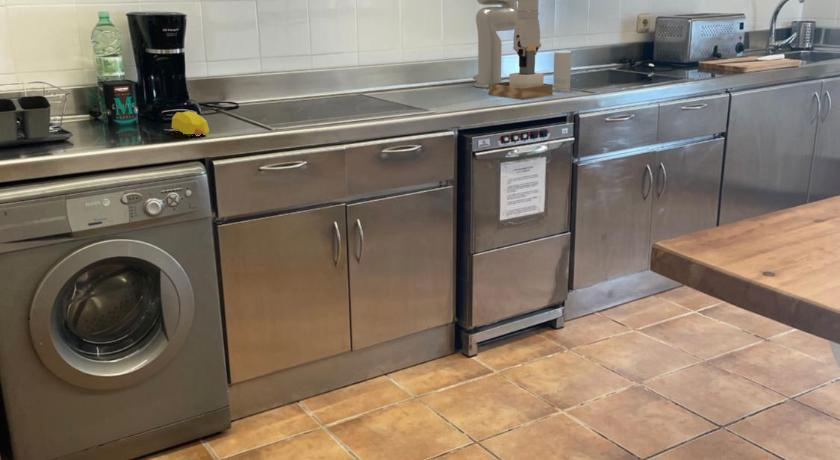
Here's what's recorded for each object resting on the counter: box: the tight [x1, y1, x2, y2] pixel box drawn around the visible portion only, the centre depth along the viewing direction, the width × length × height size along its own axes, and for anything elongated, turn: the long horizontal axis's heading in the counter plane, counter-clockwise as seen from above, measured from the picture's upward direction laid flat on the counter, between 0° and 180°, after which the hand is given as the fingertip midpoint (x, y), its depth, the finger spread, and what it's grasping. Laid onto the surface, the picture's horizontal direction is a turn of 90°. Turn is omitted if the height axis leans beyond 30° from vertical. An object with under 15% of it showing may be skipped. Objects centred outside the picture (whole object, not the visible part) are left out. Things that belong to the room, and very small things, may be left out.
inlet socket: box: [508, 72, 545, 88], centre depth 309 cm, size 9×9×8 cm
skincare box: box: [553, 50, 572, 93], centre depth 319 cm, size 8×7×16 cm
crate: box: [488, 81, 554, 101], centre depth 310 cm, size 18×16×5 cm
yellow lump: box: [171, 110, 210, 135], centre depth 248 cm, size 18×7×8 cm
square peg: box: [518, 45, 536, 75], centre depth 306 cm, size 4×4×12 cm
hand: (526, 65), depth 307 cm, fingers closed on square peg, 4 cm apart
